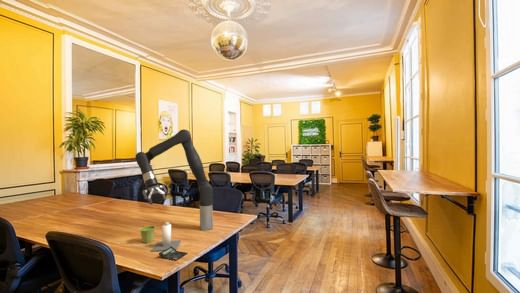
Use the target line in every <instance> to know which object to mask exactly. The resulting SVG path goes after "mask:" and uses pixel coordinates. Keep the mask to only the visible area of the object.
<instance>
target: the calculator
mask: <svg viewBox="0 0 520 293" xmlns="http://www.w3.org/2000/svg"><path fill="white" fill-rule="evenodd" d="M158 255H159V256H160V257H161V259H164V260H167V259H169V260H168V261H173V260H174V261H173V262H177V261H179V260H180V259H181V258H184V257H185V256H186V255H188V252H185V251H178V250H177V249H176V250H175V249H174V248H173V247H172V246H171V247H169V248H168V249H166V250H164V251H159V253H158Z"/></svg>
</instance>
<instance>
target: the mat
mask: <svg viewBox="0 0 520 293" xmlns="http://www.w3.org/2000/svg"><path fill="white" fill-rule="evenodd" d="M181 242H182V240H181V239H180V240H179V239H178V240H171V245H170V246H167V247H164V246H162V240H160V241H157V242H156V243H155V245H154V247H152V249H151V250H150V253H154V252H155V253H156V252H162V251H164V250H166V249H168V248H169V247H171V246H172V247H173V248H174V249H175V250H176V251H177V249H178V247H179V246H180V244H181Z"/></svg>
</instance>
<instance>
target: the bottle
mask: <svg viewBox="0 0 520 293" xmlns="http://www.w3.org/2000/svg"><path fill="white" fill-rule="evenodd" d="M161 226H162V227H161V228H162V229H161V232H162V235H161V236H162V237H161V238H162V239H161V241H162V246H164V247H167V246H170V245H171V241H172V224H171V223H169V221H165V222H164V224H162V225H161Z"/></svg>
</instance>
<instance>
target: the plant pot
mask: <svg viewBox="0 0 520 293" xmlns="http://www.w3.org/2000/svg"><path fill="white" fill-rule="evenodd" d="M156 228H157V227H156V226H155V225H145V226H142V227H140V228H139V231H140V233H141V240H142V243H143V244H149V243H152V242H154V237H155V236H154V235H155V230H156Z"/></svg>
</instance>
